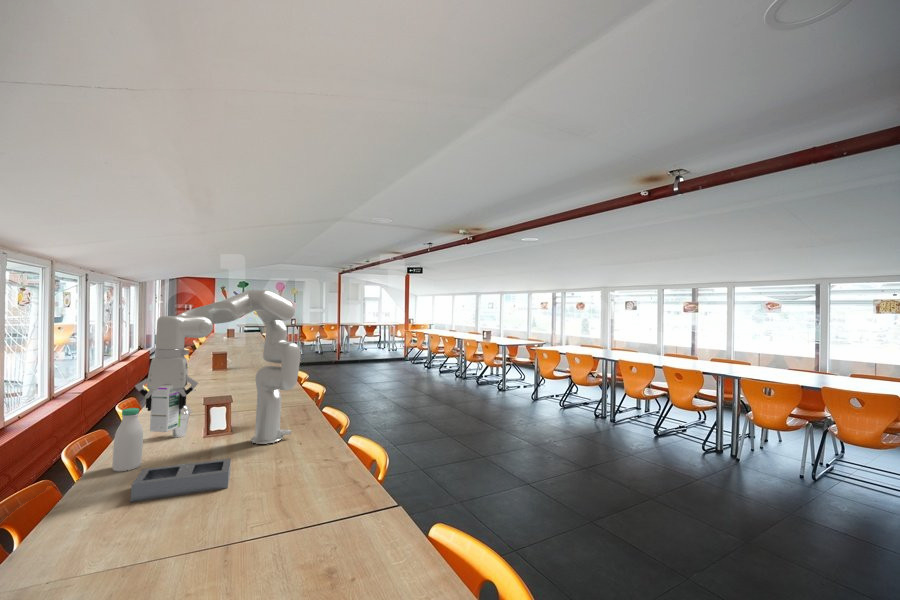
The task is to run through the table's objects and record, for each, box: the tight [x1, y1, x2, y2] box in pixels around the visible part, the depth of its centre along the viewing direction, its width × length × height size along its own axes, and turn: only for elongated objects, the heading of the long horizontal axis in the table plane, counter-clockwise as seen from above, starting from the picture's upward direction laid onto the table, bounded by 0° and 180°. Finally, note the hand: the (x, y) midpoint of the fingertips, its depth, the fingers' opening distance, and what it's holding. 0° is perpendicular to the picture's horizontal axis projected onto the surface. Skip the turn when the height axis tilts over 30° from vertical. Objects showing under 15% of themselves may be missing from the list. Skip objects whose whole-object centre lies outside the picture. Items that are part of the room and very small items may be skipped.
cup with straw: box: [171, 388, 196, 439], centre depth 166 cm, size 8×9×20 cm
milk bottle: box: [111, 407, 144, 472], centre depth 132 cm, size 8×8×20 cm
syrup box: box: [149, 385, 181, 433], centre depth 123 cm, size 6×6×14 cm
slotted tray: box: [130, 458, 232, 504], centre depth 119 cm, size 24×12×5 cm, turn 117°
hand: (165, 408), depth 123 cm, fingers closed on syrup box, 7 cm apart
